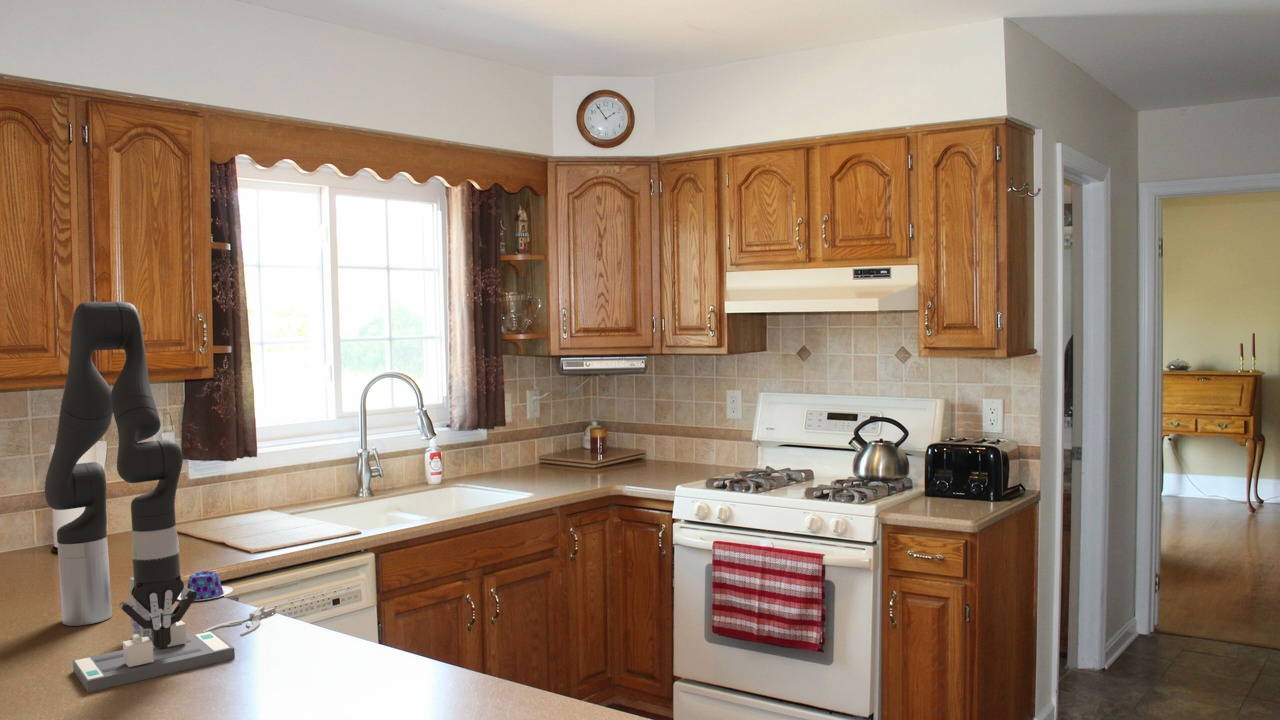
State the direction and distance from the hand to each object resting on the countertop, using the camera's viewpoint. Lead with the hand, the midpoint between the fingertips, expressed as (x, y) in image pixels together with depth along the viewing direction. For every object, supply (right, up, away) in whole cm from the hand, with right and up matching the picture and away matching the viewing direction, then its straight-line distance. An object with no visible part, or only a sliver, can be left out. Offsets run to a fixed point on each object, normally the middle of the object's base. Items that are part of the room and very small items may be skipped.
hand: (161, 648), depth 181 cm
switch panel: (-2, -4, +2) cm, 5 cm away
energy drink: (-12, -4, +20) cm, 24 cm away
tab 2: (-2, -1, +7) cm, 8 cm away
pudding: (-14, -3, +50) cm, 52 cm away
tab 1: (-3, -2, -2) cm, 4 cm away
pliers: (+5, -3, +26) cm, 27 cm away
